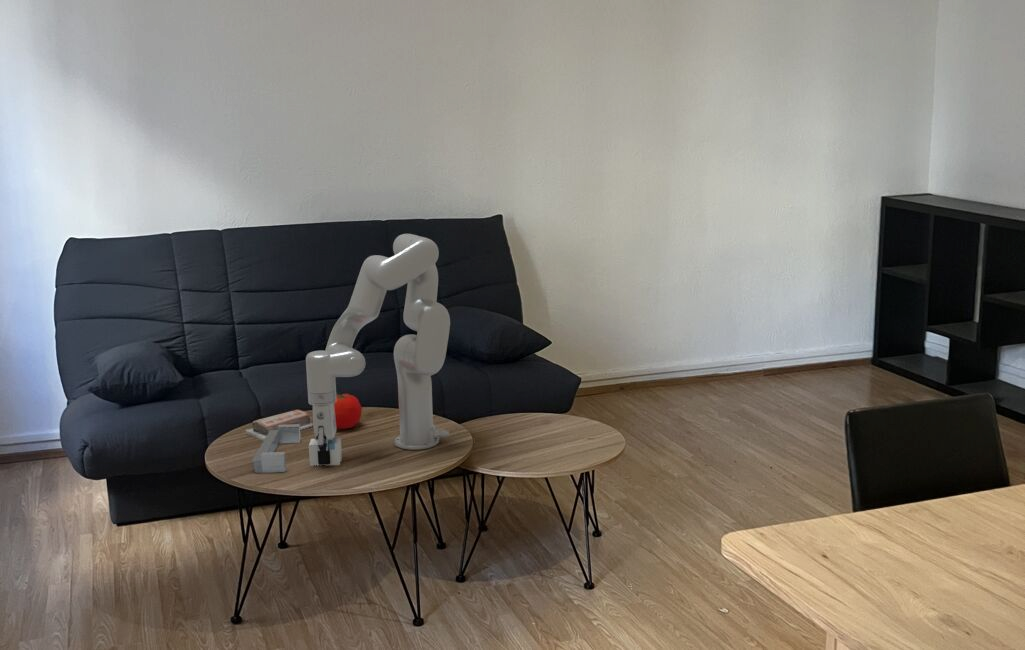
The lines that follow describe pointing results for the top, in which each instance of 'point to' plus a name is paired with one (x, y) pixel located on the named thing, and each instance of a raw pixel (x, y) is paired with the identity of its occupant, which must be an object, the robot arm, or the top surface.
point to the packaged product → (279, 423)
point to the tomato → (347, 411)
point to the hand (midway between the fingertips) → (325, 459)
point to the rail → (266, 456)
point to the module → (333, 447)
